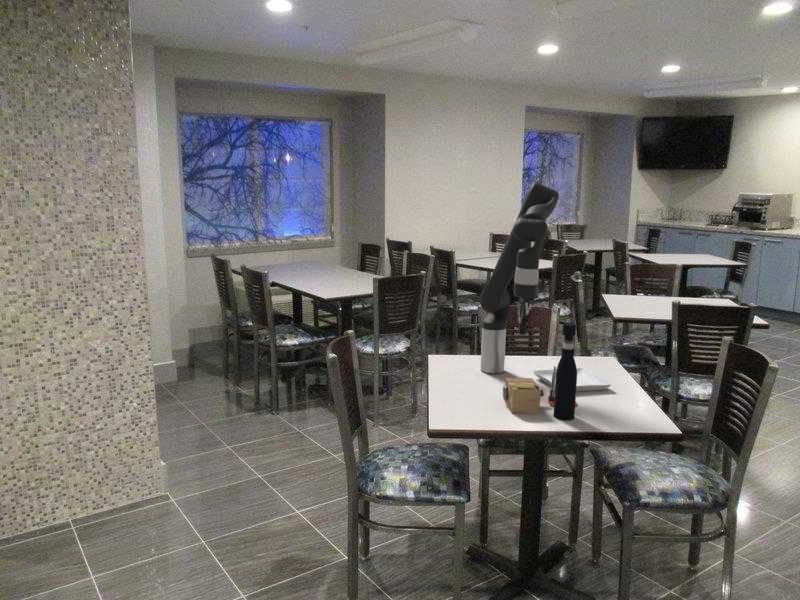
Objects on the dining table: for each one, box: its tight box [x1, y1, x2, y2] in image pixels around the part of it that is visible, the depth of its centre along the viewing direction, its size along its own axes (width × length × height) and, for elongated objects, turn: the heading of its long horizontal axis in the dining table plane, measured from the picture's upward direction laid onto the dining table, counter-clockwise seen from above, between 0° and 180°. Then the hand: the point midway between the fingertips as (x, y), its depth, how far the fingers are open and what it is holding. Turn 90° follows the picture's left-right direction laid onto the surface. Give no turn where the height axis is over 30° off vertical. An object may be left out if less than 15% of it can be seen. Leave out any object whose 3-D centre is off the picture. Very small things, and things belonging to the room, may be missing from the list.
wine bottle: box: [552, 322, 578, 421], centre depth 199 cm, size 6×6×30 cm
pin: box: [502, 385, 545, 400], centre depth 212 cm, size 13×5×5 cm, turn 92°
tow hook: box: [547, 366, 578, 408], centre depth 213 cm, size 8×13×9 cm
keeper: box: [515, 383, 534, 388], centre depth 205 cm, size 3×6×1 cm, turn 92°
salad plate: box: [532, 367, 612, 393], centre depth 235 cm, size 21×21×3 cm
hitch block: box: [503, 377, 542, 414], centre depth 210 cm, size 12×9×9 cm
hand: (521, 334), depth 208 cm, fingers closed
